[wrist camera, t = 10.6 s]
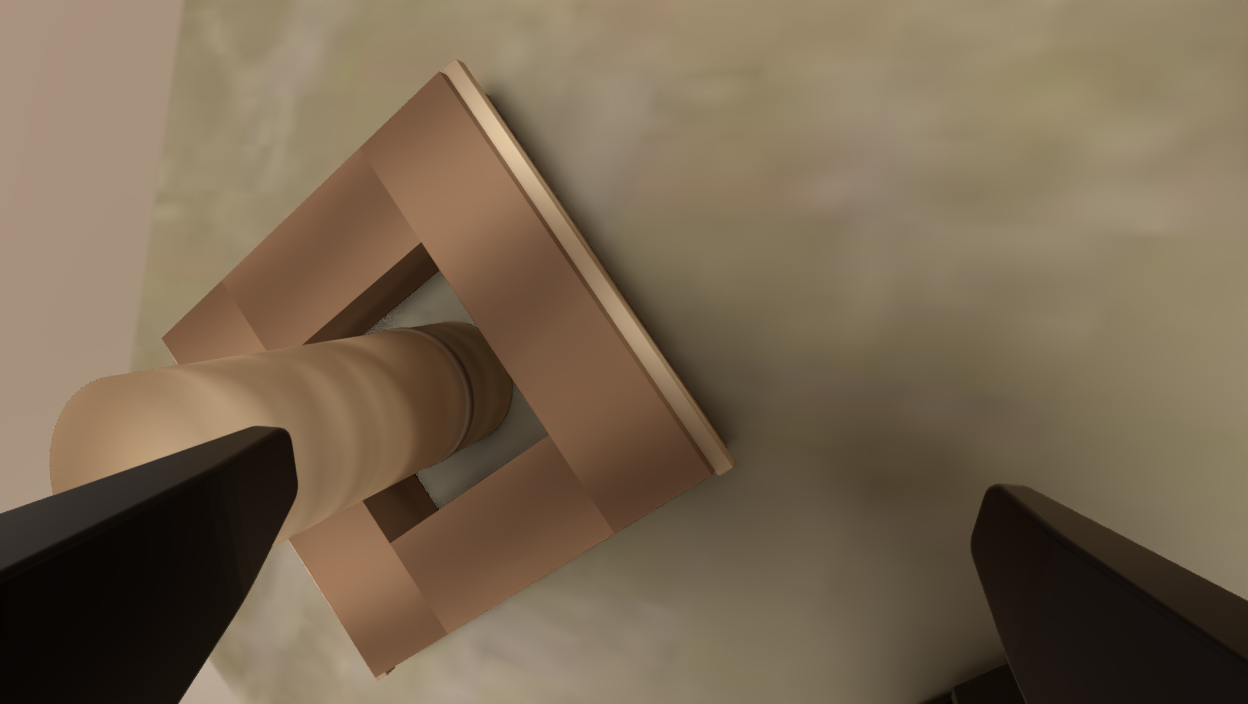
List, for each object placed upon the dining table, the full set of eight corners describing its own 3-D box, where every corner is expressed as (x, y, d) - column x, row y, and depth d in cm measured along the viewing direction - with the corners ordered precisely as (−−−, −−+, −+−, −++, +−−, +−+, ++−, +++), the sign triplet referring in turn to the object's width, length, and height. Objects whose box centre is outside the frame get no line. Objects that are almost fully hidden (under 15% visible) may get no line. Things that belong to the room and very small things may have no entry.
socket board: (743, 444, 22) (730, 472, 19) (418, 642, 27) (369, 688, 24) (495, 80, 23) (447, 54, 20) (221, 332, 27) (150, 341, 24)
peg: (535, 364, 24) (261, 461, 12) (478, 468, 25) (179, 645, 13) (432, 296, 24) (86, 328, 13) (382, 399, 26) (23, 512, 14)
